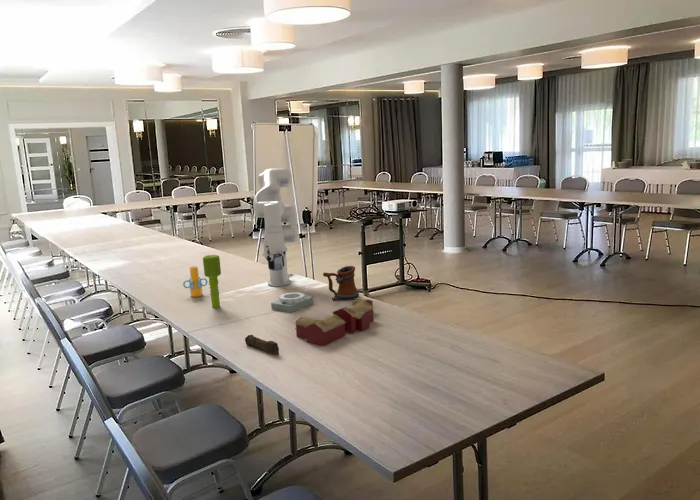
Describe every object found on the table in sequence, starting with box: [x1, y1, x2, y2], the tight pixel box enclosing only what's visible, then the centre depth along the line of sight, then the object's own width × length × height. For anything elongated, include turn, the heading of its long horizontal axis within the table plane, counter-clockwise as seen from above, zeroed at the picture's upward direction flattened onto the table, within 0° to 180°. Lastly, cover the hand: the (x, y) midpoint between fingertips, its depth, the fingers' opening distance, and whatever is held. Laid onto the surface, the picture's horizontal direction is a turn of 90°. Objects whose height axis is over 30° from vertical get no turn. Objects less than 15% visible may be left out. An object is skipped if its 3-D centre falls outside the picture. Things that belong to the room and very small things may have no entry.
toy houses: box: [295, 297, 375, 347], centre depth 239 cm, size 45×20×10 cm, turn 142°
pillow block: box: [270, 292, 314, 313], centre depth 271 cm, size 16×12×5 cm
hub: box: [269, 254, 283, 271], centre depth 272 cm, size 6×6×7 cm
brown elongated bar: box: [244, 334, 280, 356], centre depth 217 cm, size 19×4×5 cm, turn 41°
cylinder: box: [182, 265, 209, 298], centre depth 298 cm, size 12×10×15 cm
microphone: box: [202, 254, 222, 309], centre depth 275 cm, size 8×8×25 cm
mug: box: [322, 265, 360, 301], centre depth 278 cm, size 18×12×15 cm, turn 122°
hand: (276, 267), depth 272 cm, fingers closed on hub, 6 cm apart
